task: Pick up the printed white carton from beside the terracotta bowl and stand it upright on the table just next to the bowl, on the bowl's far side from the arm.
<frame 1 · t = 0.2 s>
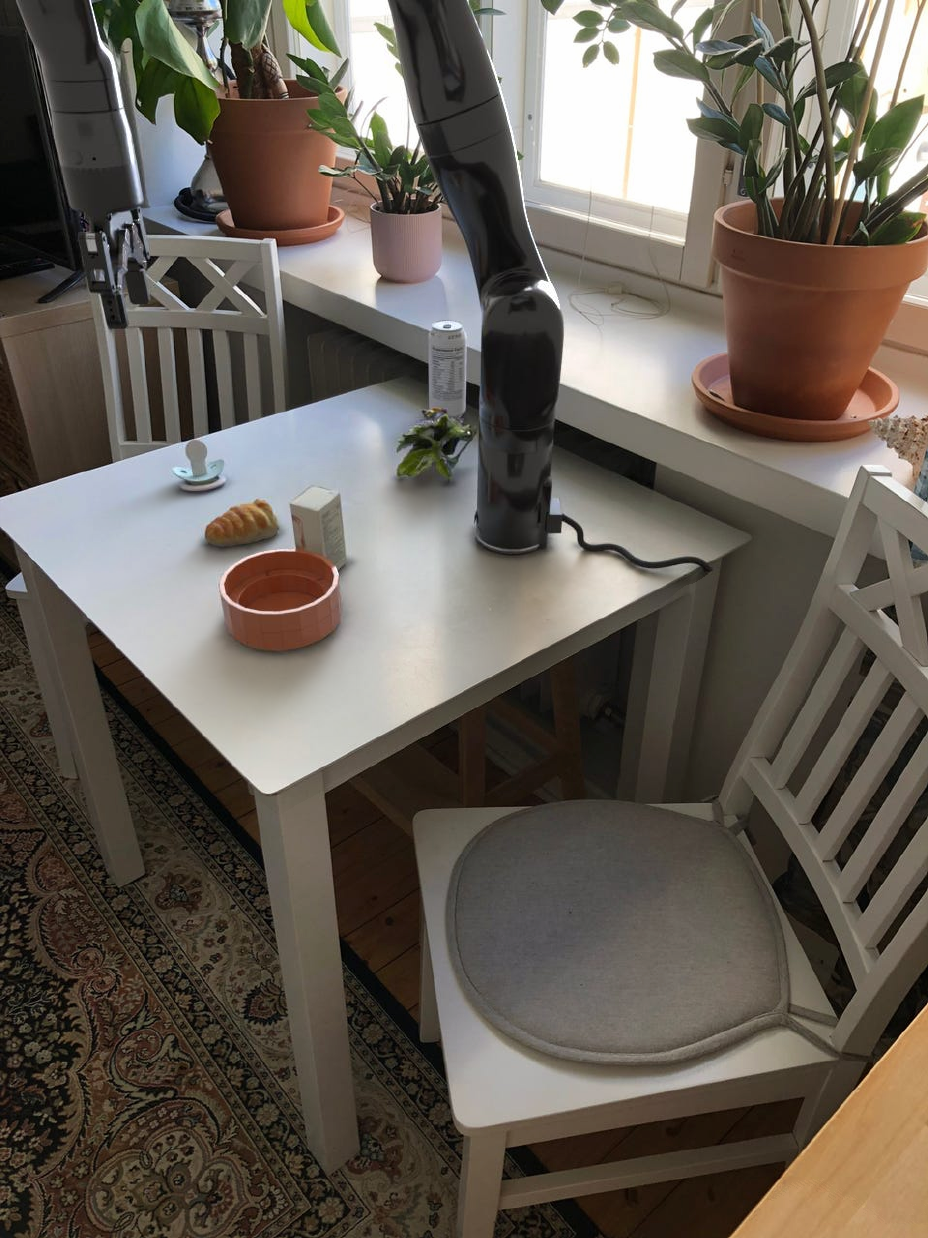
hand: (130, 315, 105), 29 cm above the table, tool pointing down, fingers open, 8 cm apart
bowl: (284, 619, 107), on the table
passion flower: (438, 474, 137), on the table
printed white carton: (322, 569, 116), on the table
pacifier: (202, 484, 134), on the table
pastry: (246, 535, 123), on the table
energy drink can: (447, 415, 154), on the table
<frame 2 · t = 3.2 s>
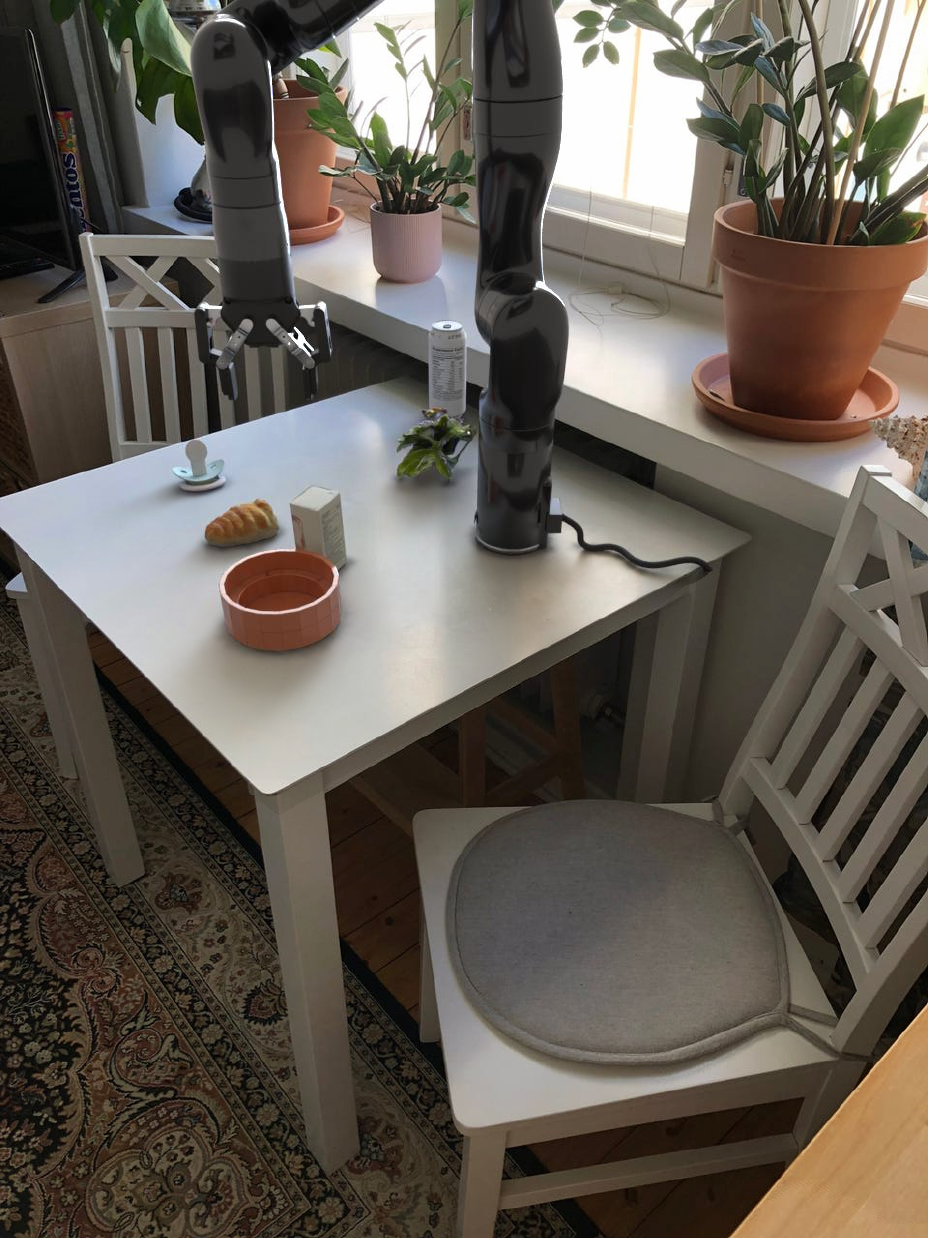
hand: (271, 397, 105), 22 cm above the table, tool pointing down, fingers open, 8 cm apart
nothing on the table moved.
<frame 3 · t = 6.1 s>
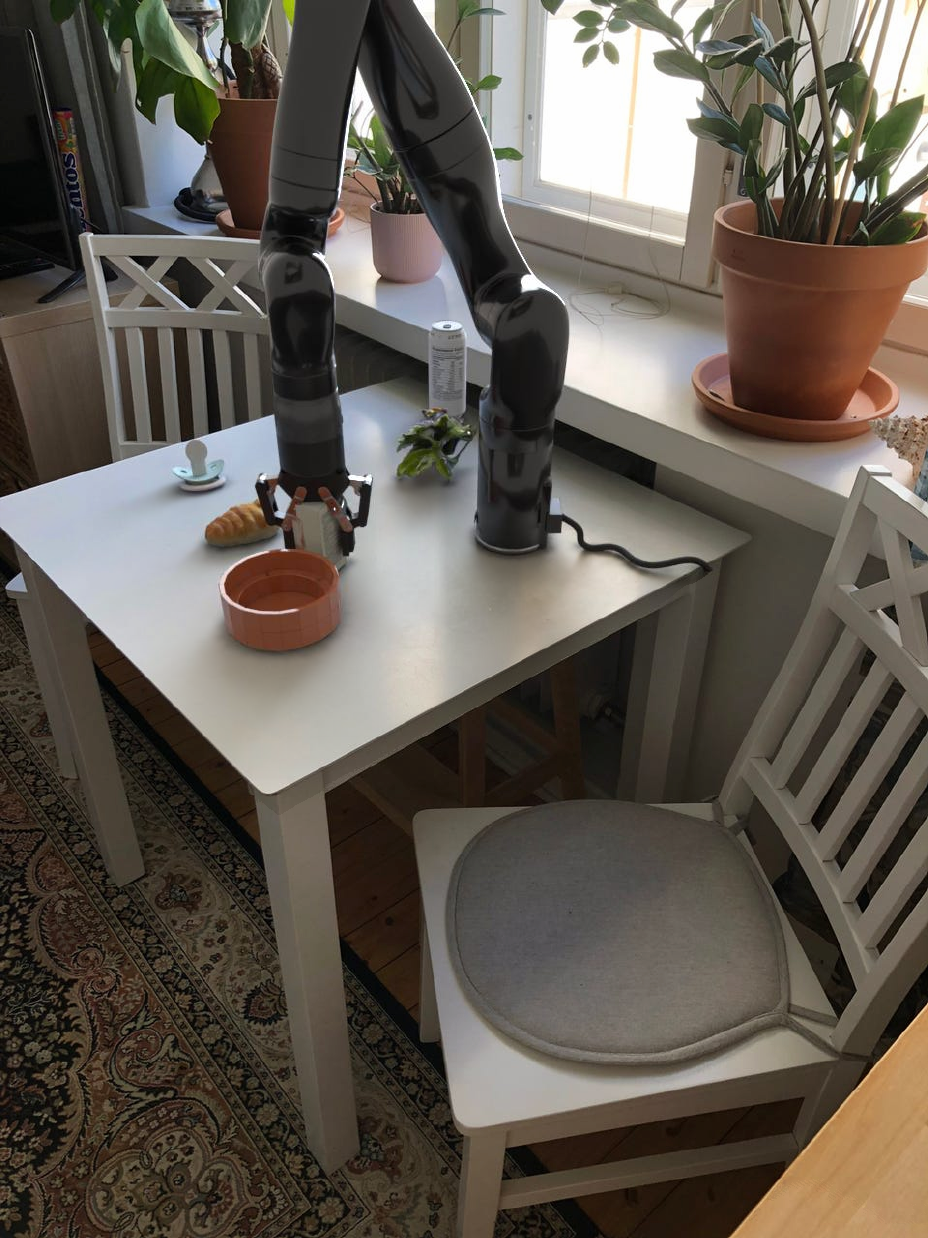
hand: (321, 552, 115), 2 cm above the table, tool pointing down, fingers closed on printed white carton, 5 cm apart
printed white carton: (322, 569, 116), on the table, touching gripper
everything else where it was.
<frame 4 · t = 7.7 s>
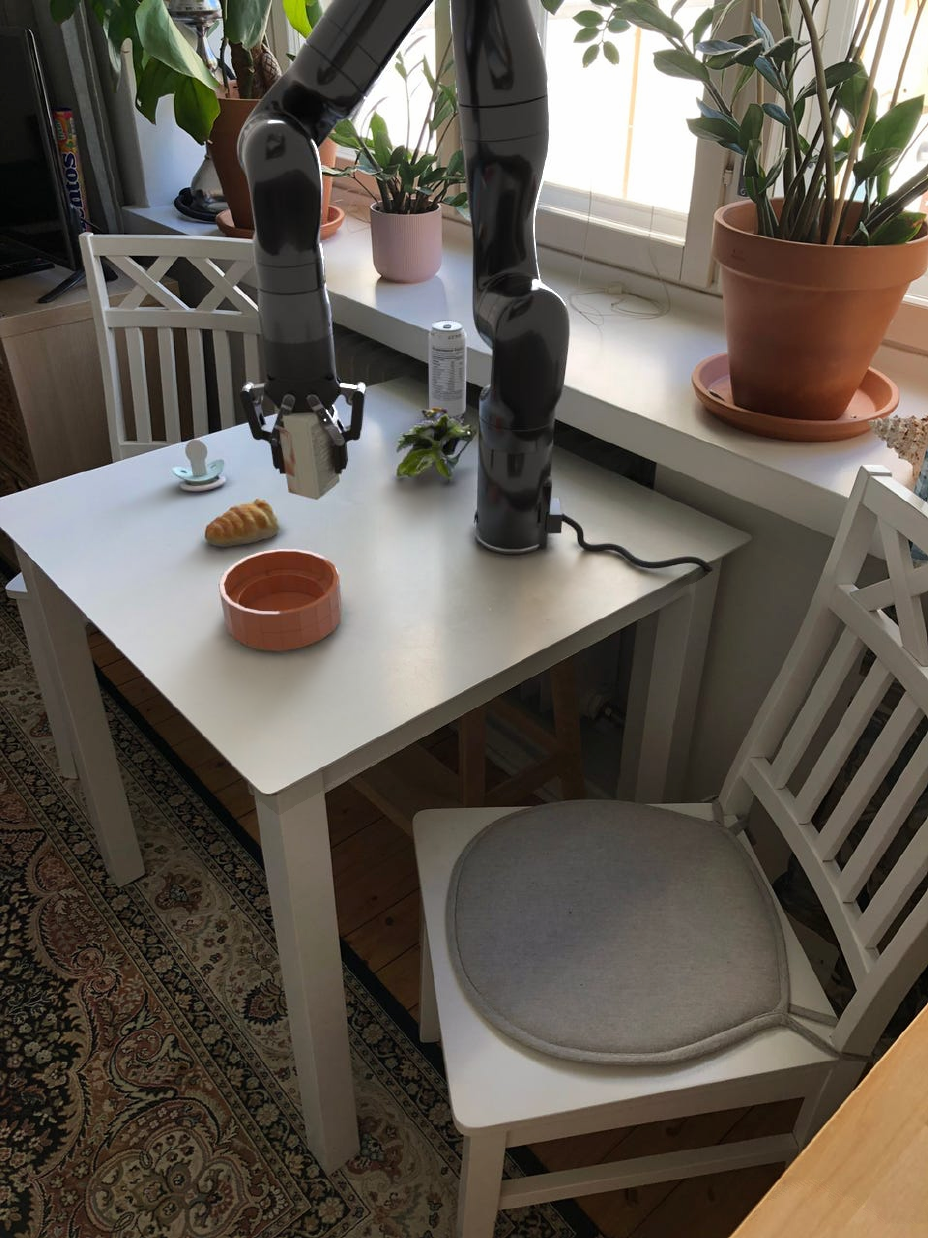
hand: (312, 470, 108), 14 cm above the table, tool pointing down, fingers closed on printed white carton, 5 cm apart
printed white carton: (313, 489, 109), point 11 cm above the table, touching gripper
everything else where it was.
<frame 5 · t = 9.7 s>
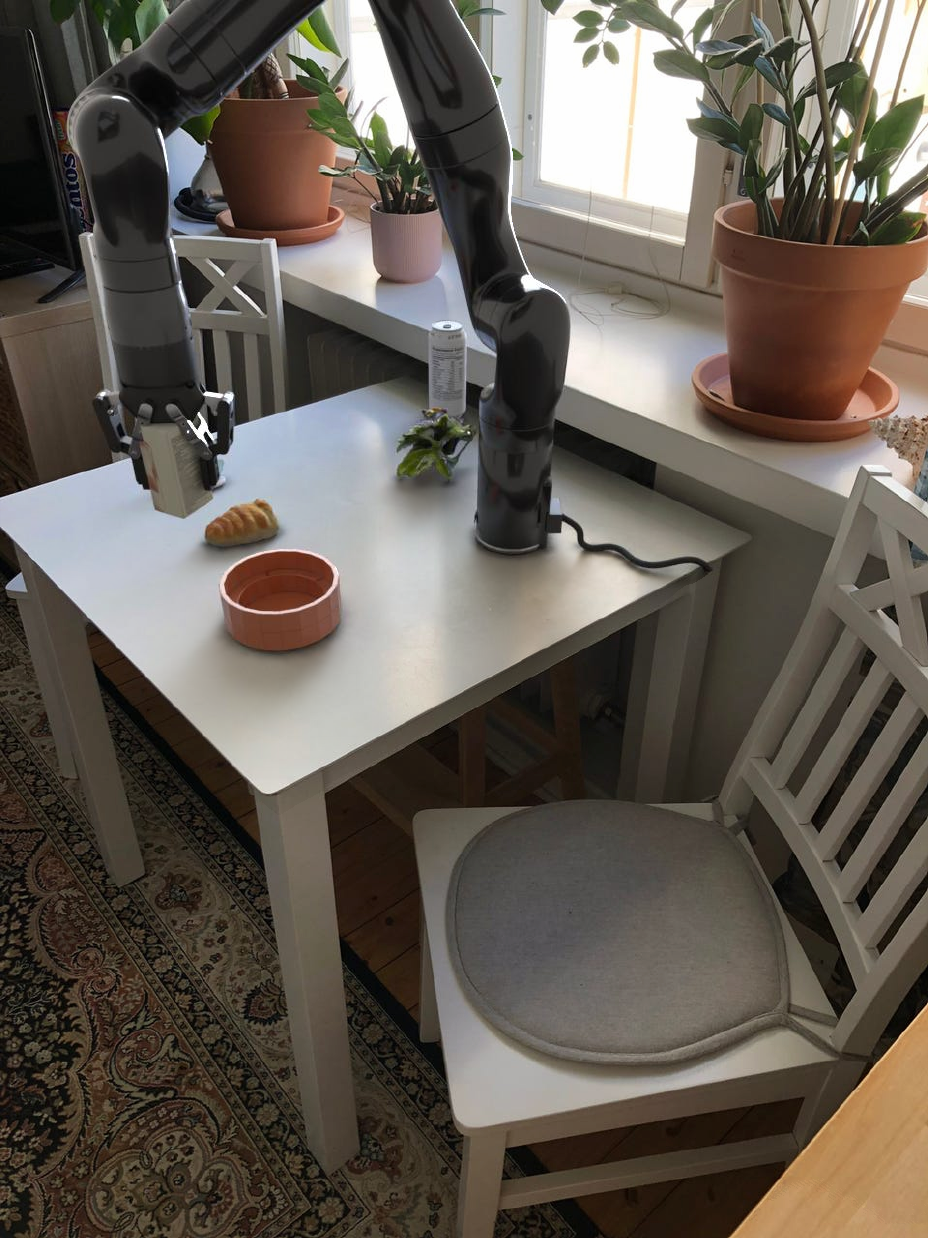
hand: (180, 486, 98), 16 cm above the table, tool pointing down, fingers closed on printed white carton, 5 cm apart
printed white carton: (183, 506, 100), point 14 cm above the table, touching gripper
everything else where it was.
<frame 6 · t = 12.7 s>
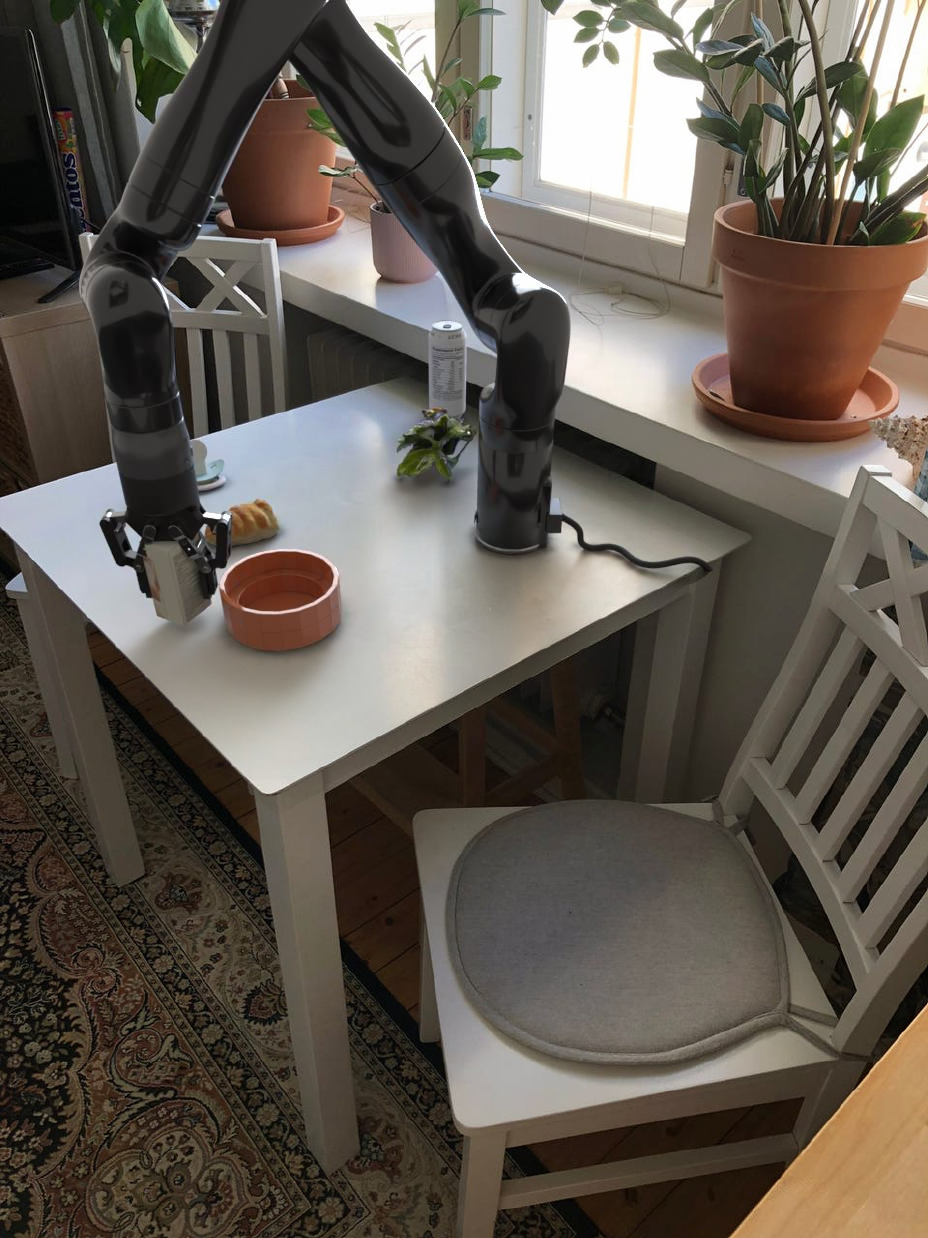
hand: (180, 594, 105), 3 cm above the table, tool pointing down, fingers closed on printed white carton, 5 cm apart
printed white carton: (183, 612, 106), point 1 cm above the table, touching gripper
everything else where it was.
when the fingers open (2 cm above the table, at t = 13.6 s): printed white carton stays where it is, on the table.
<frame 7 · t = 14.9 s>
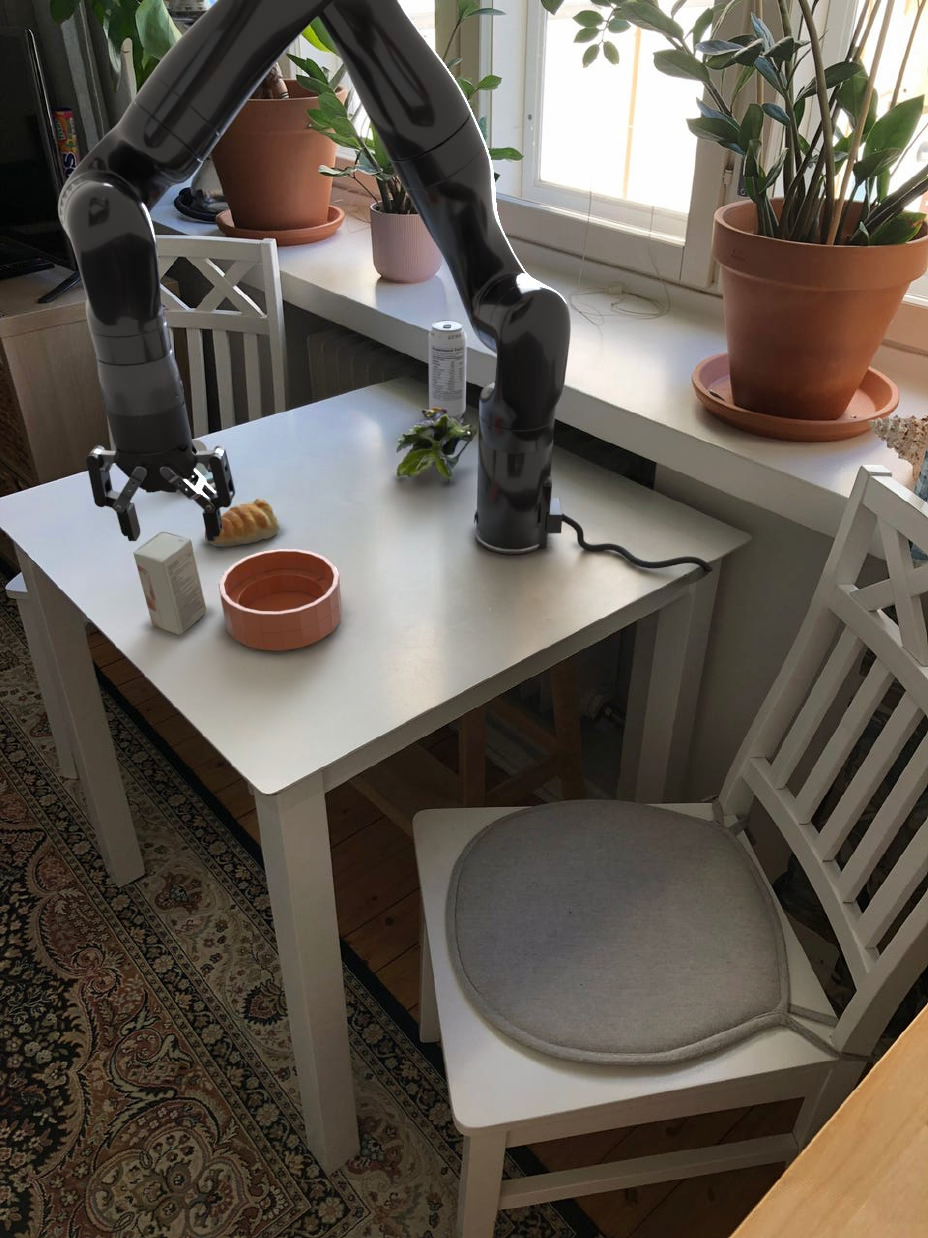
hand: (174, 537, 101), 11 cm above the table, tool pointing down, fingers open, 8 cm apart
printed white carton: (179, 620, 107), on the table
everything else where it was.
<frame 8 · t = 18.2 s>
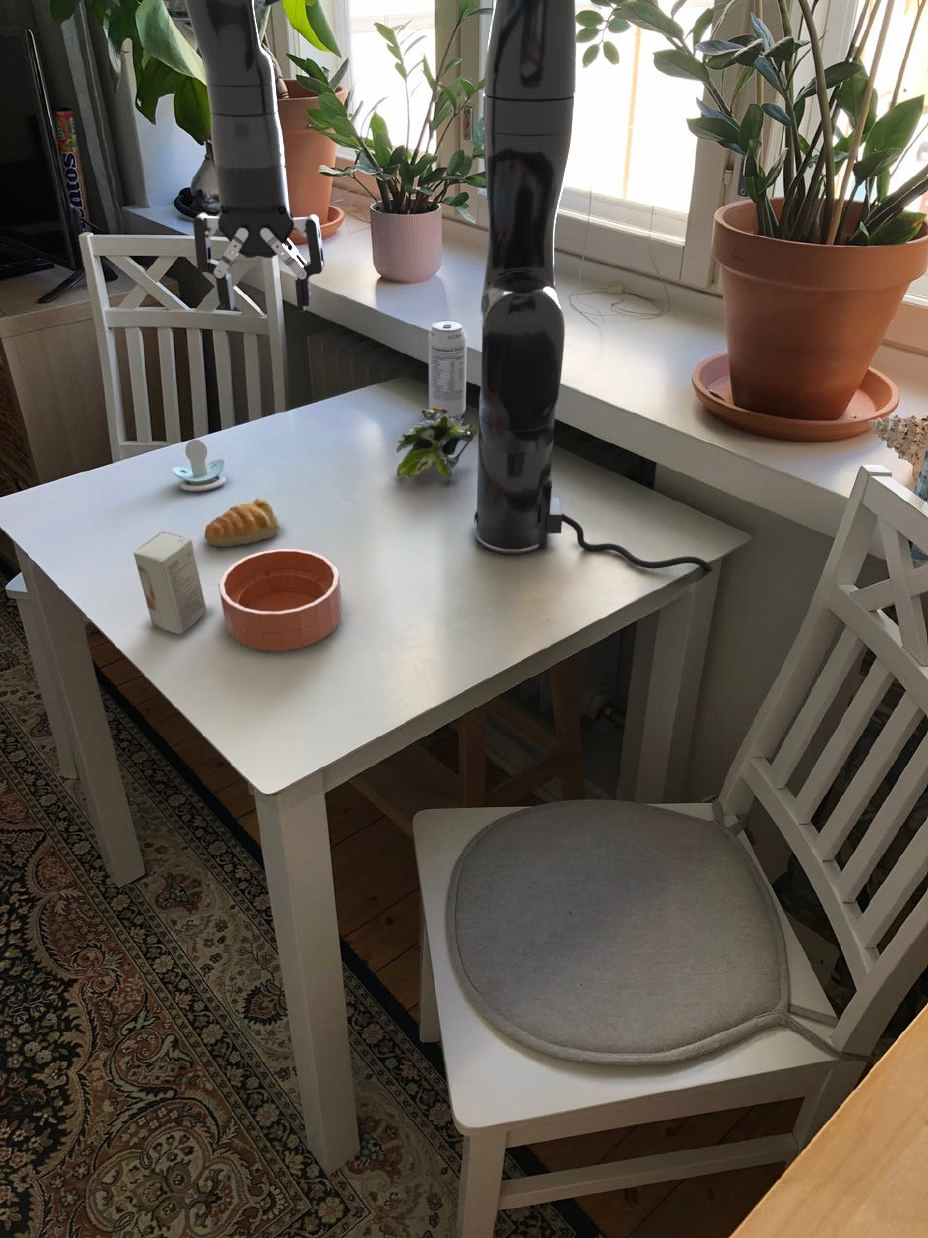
hand: (266, 308, 110), 28 cm above the table, tool pointing down, fingers open, 8 cm apart
nothing on the table moved.
at the end: printed white carton inside the target area on the table beside the bowl (1.1 cm from its centre), on the table; printed white carton 12.1 cm from the bowl (horizontally); printed white carton tilted 0° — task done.
